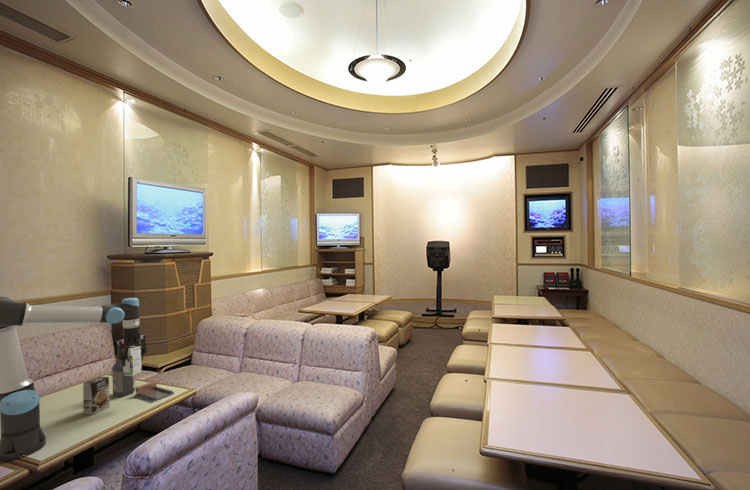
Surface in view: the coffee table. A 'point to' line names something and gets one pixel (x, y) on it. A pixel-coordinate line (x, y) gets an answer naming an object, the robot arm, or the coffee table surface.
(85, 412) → the coffee box
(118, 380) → the liquor
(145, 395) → the rail board
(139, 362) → the syrup box
